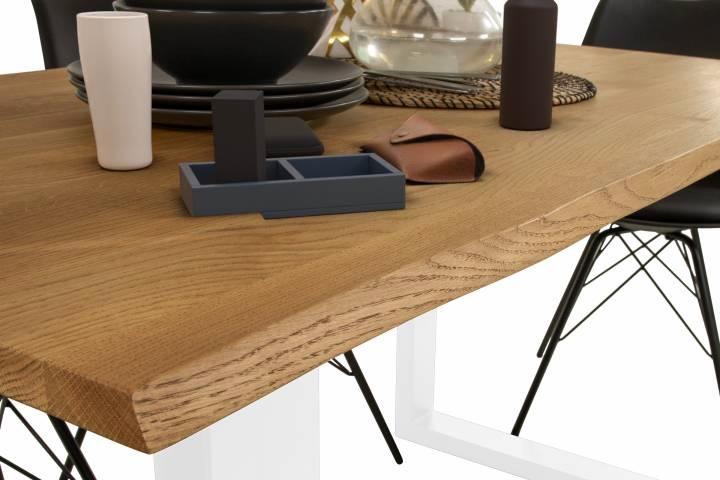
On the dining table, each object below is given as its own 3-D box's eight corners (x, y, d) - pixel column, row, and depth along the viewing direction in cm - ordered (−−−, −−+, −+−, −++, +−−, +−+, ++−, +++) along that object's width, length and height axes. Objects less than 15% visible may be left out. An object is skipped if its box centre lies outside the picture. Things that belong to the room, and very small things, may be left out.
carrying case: (214, 142, 115) (223, 171, 102) (212, 115, 114) (221, 141, 101) (307, 139, 118) (327, 167, 105) (306, 113, 117) (327, 138, 104)
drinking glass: (80, 172, 100) (64, 15, 95) (105, 158, 106) (90, 10, 101) (148, 174, 100) (135, 17, 95) (168, 159, 106) (157, 12, 101)
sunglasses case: (352, 144, 113) (381, 92, 112) (402, 173, 116) (431, 122, 115) (406, 181, 97) (440, 120, 96) (463, 212, 101) (496, 154, 100)
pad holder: (405, 208, 90) (405, 174, 89) (194, 224, 83) (192, 187, 82) (374, 184, 98) (374, 152, 97) (180, 196, 92) (178, 163, 91)
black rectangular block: (217, 203, 87) (210, 98, 84) (227, 189, 91) (221, 89, 88) (259, 204, 87) (254, 99, 84) (267, 190, 91) (263, 90, 88)
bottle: (555, 123, 132) (564, -38, 125) (547, 132, 126) (556, -37, 119) (504, 119, 133) (511, -40, 127) (493, 128, 127) (500, -38, 120)
